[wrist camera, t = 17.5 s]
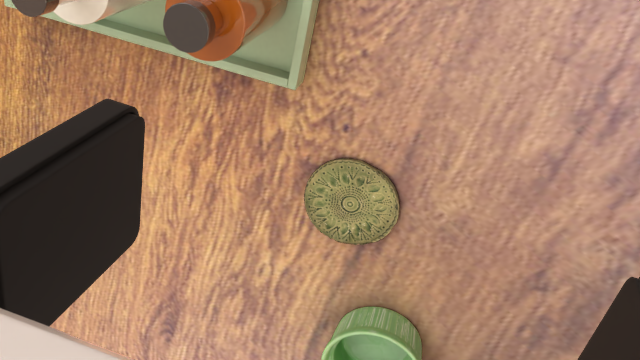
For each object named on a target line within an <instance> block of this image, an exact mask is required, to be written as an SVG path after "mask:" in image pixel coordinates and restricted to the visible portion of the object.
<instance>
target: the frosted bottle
mask: <svg viewBox="0 0 640 360" xmlns="http://www.w3.org/2000/svg"><path fill="white" fill-rule="evenodd" d="M11 1H12V3H13V4H14V6H15V7H16V8H17V9H18V10H19V11H20V12H21V13H23V14H24V15H26V16H30V17H37V16H41V15H44V14H47V13H50V12H54V13H55V14H57V15H58V16H59V17H61V18H62V19H64V20H66V21H68V22H70V23H73V24H78V25H87V24H91V23H93V22H96V21H99V20H102V19H104V18H107V17H110V16H112V15H115V14H118V13H121V12H123V11H126V10H129V9H131V8H134V7H137V6H140V5H142V4H145V3H148V2H150V1H153V0H11Z"/></svg>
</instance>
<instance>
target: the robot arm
mask: <svg viewBox="0 0 640 360" xmlns="http://www.w3.org/2000/svg"><path fill="white" fill-rule="evenodd" d="M144 133H145V122H144V119H143V118H142V117H140V116H139V114H138V111H137V109H136V108H135V107H132V106H129V105H126V104H123V103H120V102H117V101H114V100H111V99H105V100H103V101H101V102H99V103H97V104H95V105H94V106H92V107H90V108H88V109H87V110H85V111H83V112H81V113H80V114H78V115H76V116H74V117H72V118H71V119H69V120H67V121H65V122H64V123H62V124H60V125H58V126H57V127H55V128H53V129H51V130H49V131H48V132H46V133H44V134H42V135H41V136H39V137H37V138H35V139H33V140H32V141H30V142H28V143H26V144H25V145H23V146H21V147H19V148H18V149H16V150H14V151H12V152H10V153H9V154H7V155H5V156H3V157H2V158H0V360H135V359H132V358H130V357H127V356H124V355H122V354H119V353H117V352H114V351H111V350H109V349H106V348H104V347H101V346H98V345H96V344H93V343H91V342H88V341H85V340H83V339H80V338H78V337H75V336H72V335H70V334H67V333H65V332H62V331H59V330H57V329H54V328H52V327H49V326H50V325H51V324H52V323H53V322H54V321H55V320H56V319H57V318H58V317H59V316H60V315H61V314H62V313H63V312H64V311H65V310H66V309H67V308H68V307H69V306H70V305H71V304H72V303H73V302H75V301H76V300H77V299H78V298H79V297H80V296H81V295H82V294H83V293H84V292H85V291H86V290H87V289H88V288H89V287H90V286H91V285H92V284H93V283H94V282H95V281H96V280H97V279H98V278H99V277H100V276H101V275H102V274H103V273H104V272H105V271H106V270H107V269H108V268H109V267H110V266H111V265H112V264H113V263H114V262H115V261H116V260H117V259H118V258H119V257H120V256H121V255H122V254H123V253H124V252H125V251H126V250H127V249H128V248H129V247H130V246H131V245H132V244H133V243H134V241H135V239H136V237H137V235H138V232H139V227H140V209H141V190H142V171H143V152H144ZM578 360H640V277H639V279H637V278H634V277H630V278H629V279H628V280H627V281H626V282H625V283H624V285H623V287H622V288H621V290H620V292H619V293H618V295H617V296H616V298H615V300H614V301H613V303H612V305H611V306H610V308H609V309H608V311H607V313H606V314H605V316H604V318H603V319H602V321H601V322H600V324H599V326H598V327H597V329H596V331H595V332H594V334H593V335H592V337H591V339H590V340H589V342H588V344H587V345H586V347H585V348H584V350H583V352H582V353H581V355H580V357H579V358H578Z"/></svg>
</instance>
